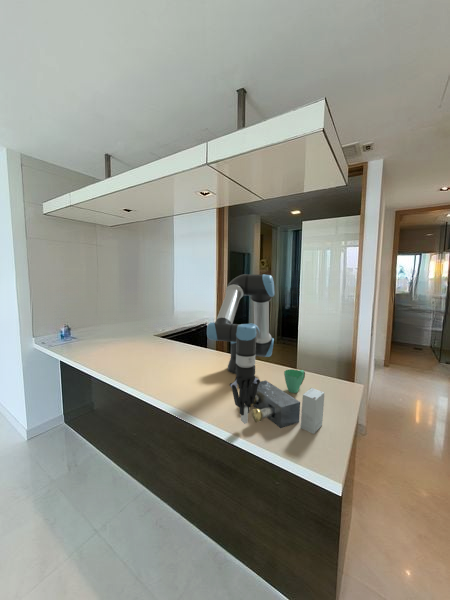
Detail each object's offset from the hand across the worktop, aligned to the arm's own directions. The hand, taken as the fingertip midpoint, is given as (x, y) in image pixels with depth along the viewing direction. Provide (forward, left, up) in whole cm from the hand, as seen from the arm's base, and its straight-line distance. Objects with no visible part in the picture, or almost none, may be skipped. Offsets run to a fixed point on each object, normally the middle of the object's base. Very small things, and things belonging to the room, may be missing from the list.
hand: (244, 421), depth 104 cm
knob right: (0, +11, -1) cm, 11 cm away
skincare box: (+11, +26, -4) cm, 28 cm away
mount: (-6, +19, -3) cm, 20 cm away
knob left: (-12, +16, -1) cm, 20 cm away
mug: (-18, +44, -4) cm, 47 cm away
